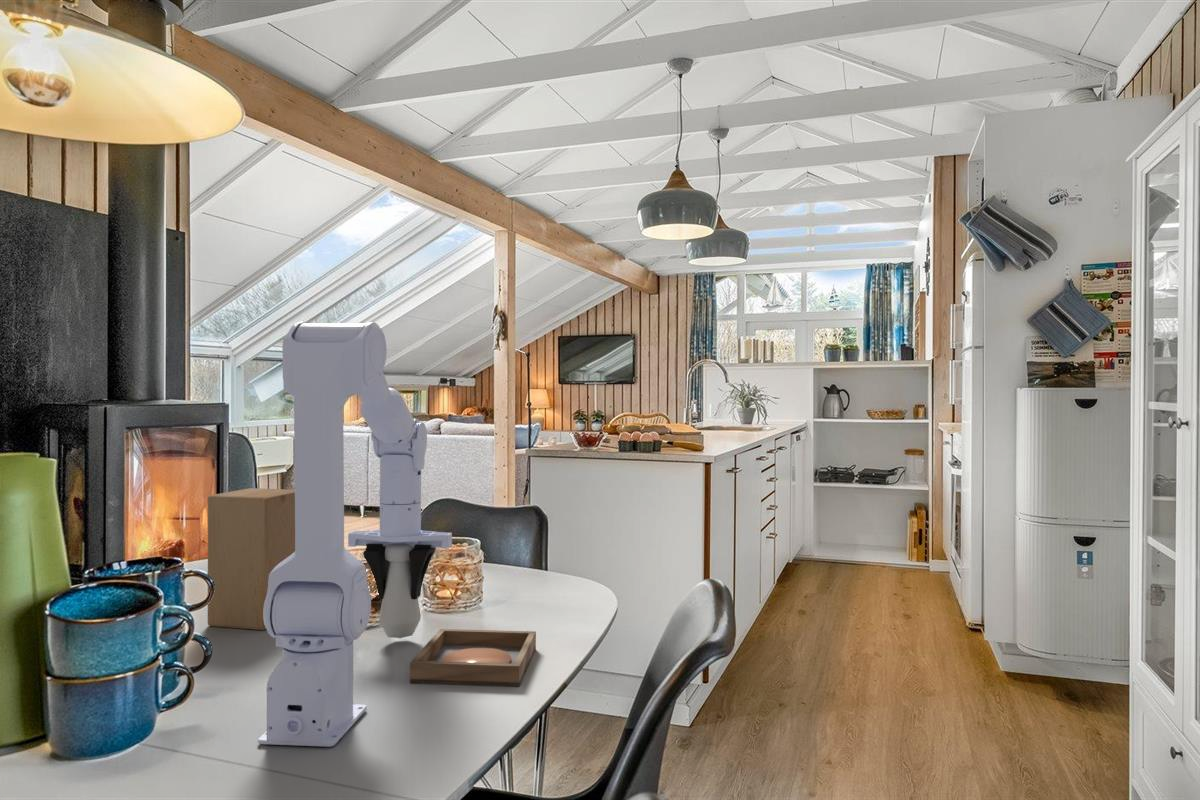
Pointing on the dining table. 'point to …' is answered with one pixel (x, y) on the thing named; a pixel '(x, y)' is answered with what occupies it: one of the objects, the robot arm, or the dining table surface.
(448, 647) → the square wooden serving tray
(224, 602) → the wooden block
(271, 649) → the dining table surface
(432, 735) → the dining table surface
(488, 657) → the coaster
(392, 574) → the salt shaker
